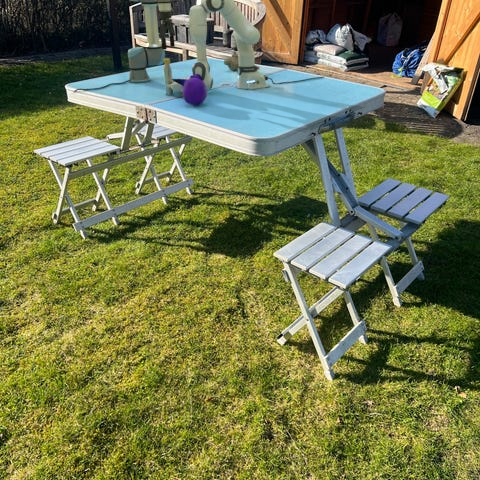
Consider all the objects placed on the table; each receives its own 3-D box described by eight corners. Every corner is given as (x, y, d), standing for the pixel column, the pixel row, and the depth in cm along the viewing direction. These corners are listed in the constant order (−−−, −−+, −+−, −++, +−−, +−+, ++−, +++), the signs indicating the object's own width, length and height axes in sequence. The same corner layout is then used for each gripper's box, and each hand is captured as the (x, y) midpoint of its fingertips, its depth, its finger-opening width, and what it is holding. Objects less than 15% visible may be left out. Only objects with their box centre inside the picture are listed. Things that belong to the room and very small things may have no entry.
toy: (196, 96, 291) (207, 111, 270) (169, 91, 283) (179, 106, 263) (201, 71, 283) (213, 84, 262) (173, 66, 275) (184, 79, 255)
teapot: (227, 73, 361) (227, 53, 353) (221, 70, 369) (220, 51, 362) (250, 70, 370) (250, 50, 362) (243, 68, 378) (242, 49, 371)
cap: (171, 62, 290) (170, 58, 289) (169, 63, 287) (168, 59, 285) (164, 62, 291) (164, 58, 290) (162, 63, 287) (162, 59, 286)
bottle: (174, 93, 300) (171, 59, 289) (172, 95, 296) (169, 60, 285) (167, 93, 301) (164, 58, 290) (165, 95, 297) (161, 60, 286)
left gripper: (167, 10, 290) (170, 45, 300) (151, 12, 269) (155, 50, 279) (178, 9, 288) (181, 45, 298) (162, 12, 267) (166, 50, 278)
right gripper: (190, 76, 302) (170, 76, 303) (185, 82, 284) (163, 82, 285) (191, 85, 305) (171, 85, 306) (185, 92, 287) (164, 92, 288)
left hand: (168, 48), depth 289 cm, fingers open, 13 cm apart
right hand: (167, 84), depth 295 cm, fingers open, 7 cm apart
